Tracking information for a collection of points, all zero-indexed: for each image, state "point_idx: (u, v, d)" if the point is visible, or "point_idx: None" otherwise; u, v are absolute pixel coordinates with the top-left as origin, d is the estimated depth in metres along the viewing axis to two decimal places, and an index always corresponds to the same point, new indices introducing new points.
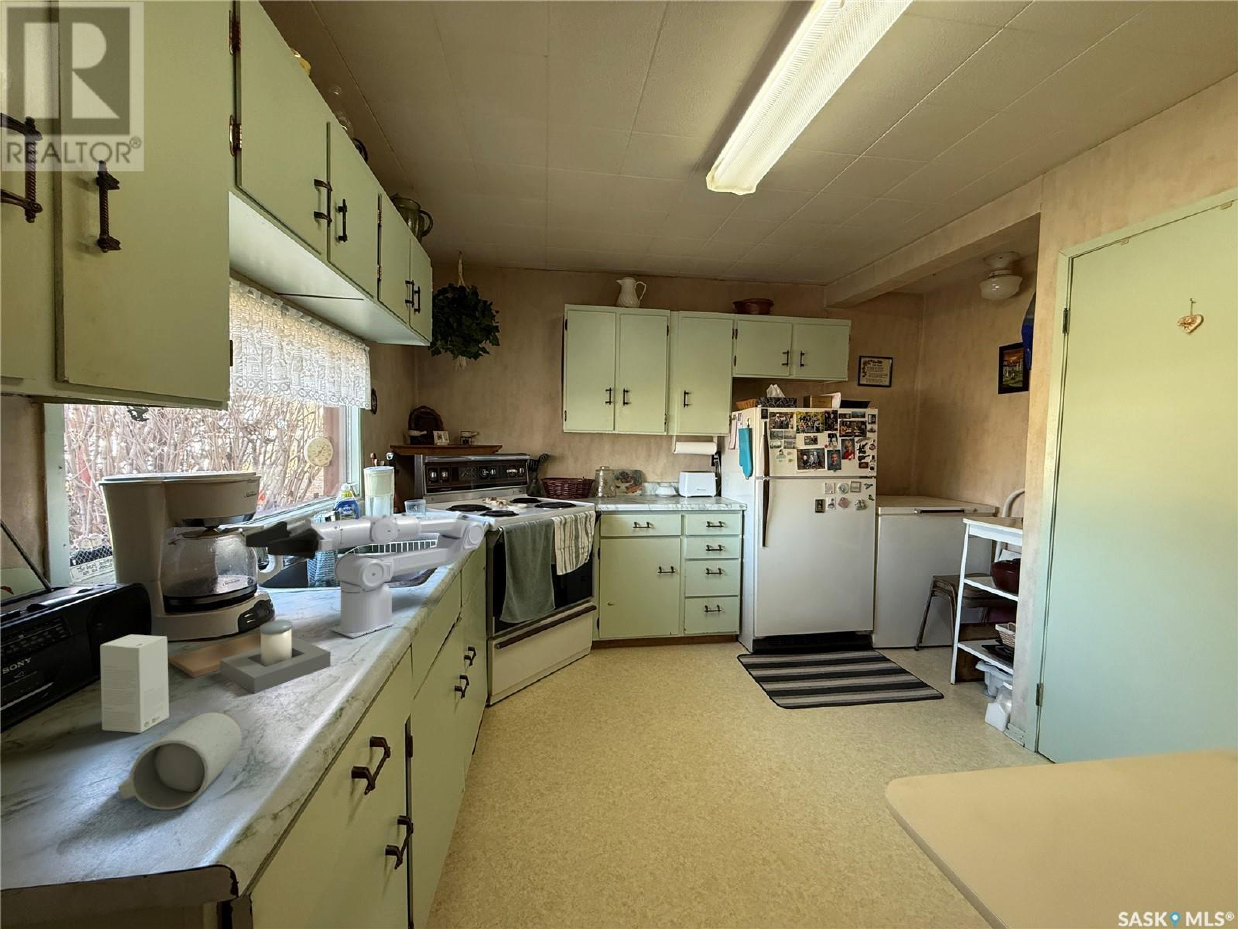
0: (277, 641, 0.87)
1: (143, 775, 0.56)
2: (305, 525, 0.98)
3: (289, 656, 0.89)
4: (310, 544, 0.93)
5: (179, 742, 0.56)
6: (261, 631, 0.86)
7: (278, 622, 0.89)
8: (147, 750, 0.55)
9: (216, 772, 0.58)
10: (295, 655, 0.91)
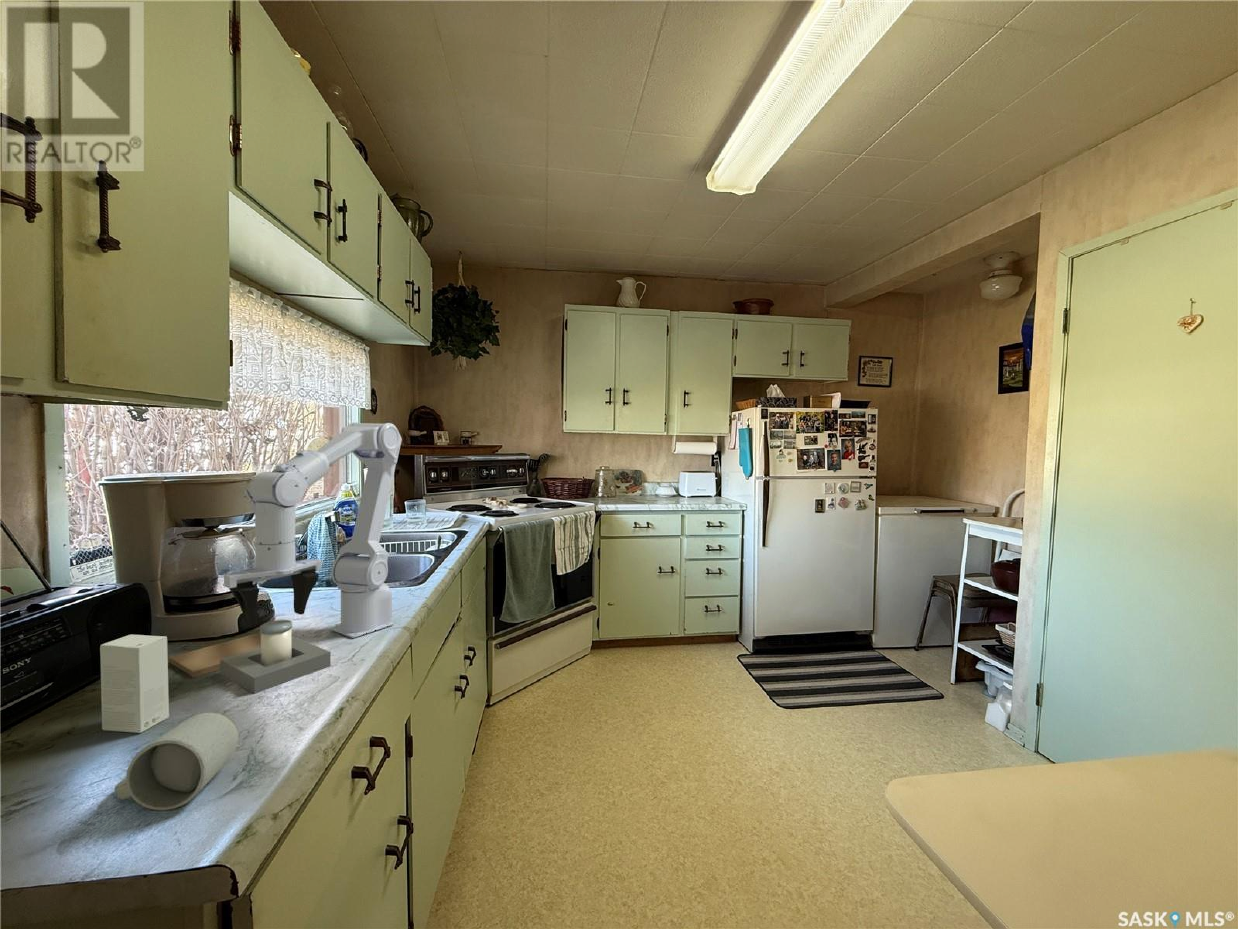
0: (277, 641, 0.87)
1: (139, 775, 0.56)
2: None
3: (289, 656, 0.89)
4: None
5: (175, 742, 0.55)
6: (261, 631, 0.86)
7: (278, 622, 0.89)
8: (143, 750, 0.55)
9: (212, 772, 0.58)
10: (295, 655, 0.91)
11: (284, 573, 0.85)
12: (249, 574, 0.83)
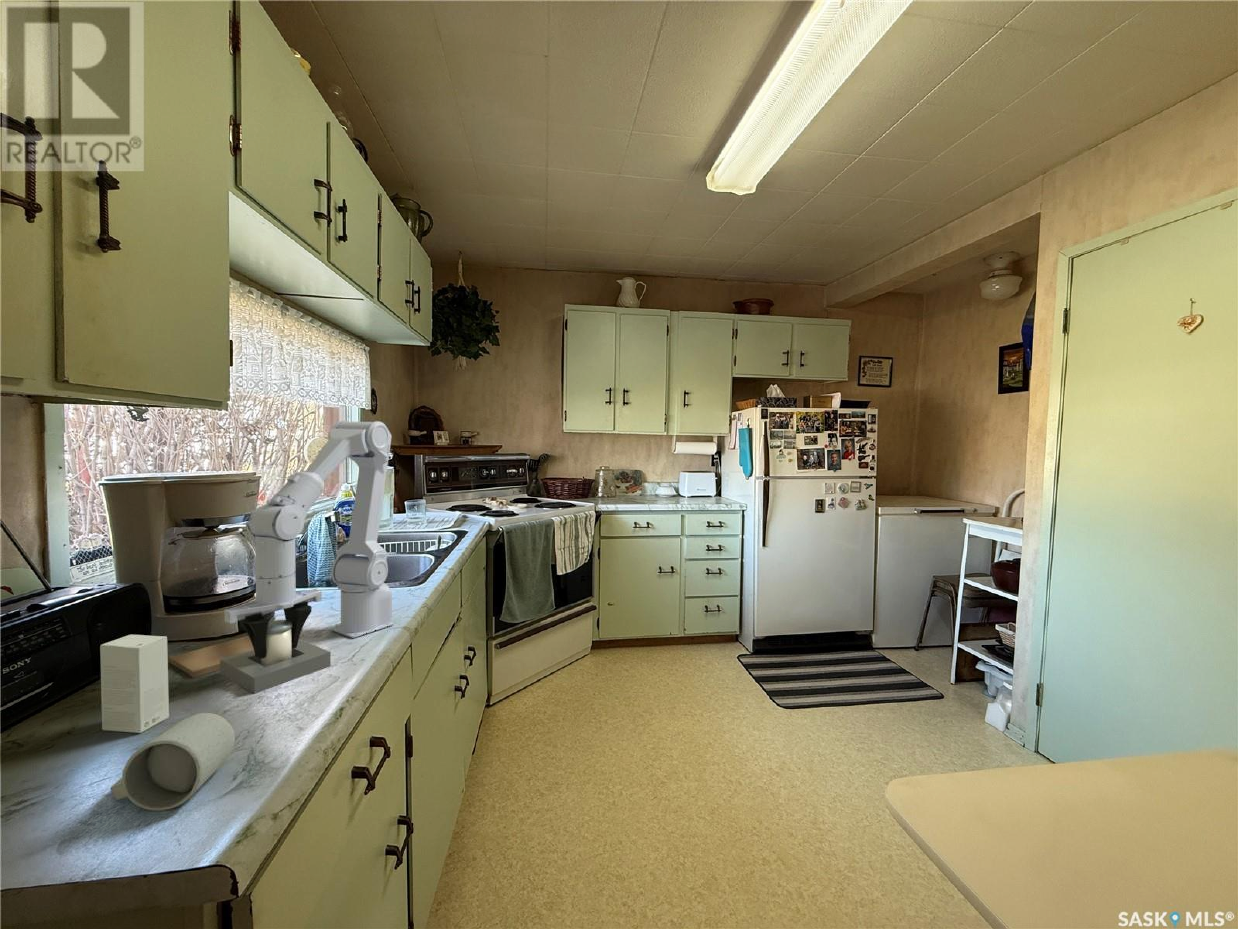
0: (277, 641, 0.87)
1: (135, 776, 0.56)
2: None
3: (289, 656, 0.89)
4: None
5: (171, 743, 0.55)
6: None
7: (278, 622, 0.89)
8: (139, 751, 0.55)
9: (208, 773, 0.58)
10: (295, 655, 0.91)
11: (284, 607, 0.86)
12: (249, 609, 0.83)
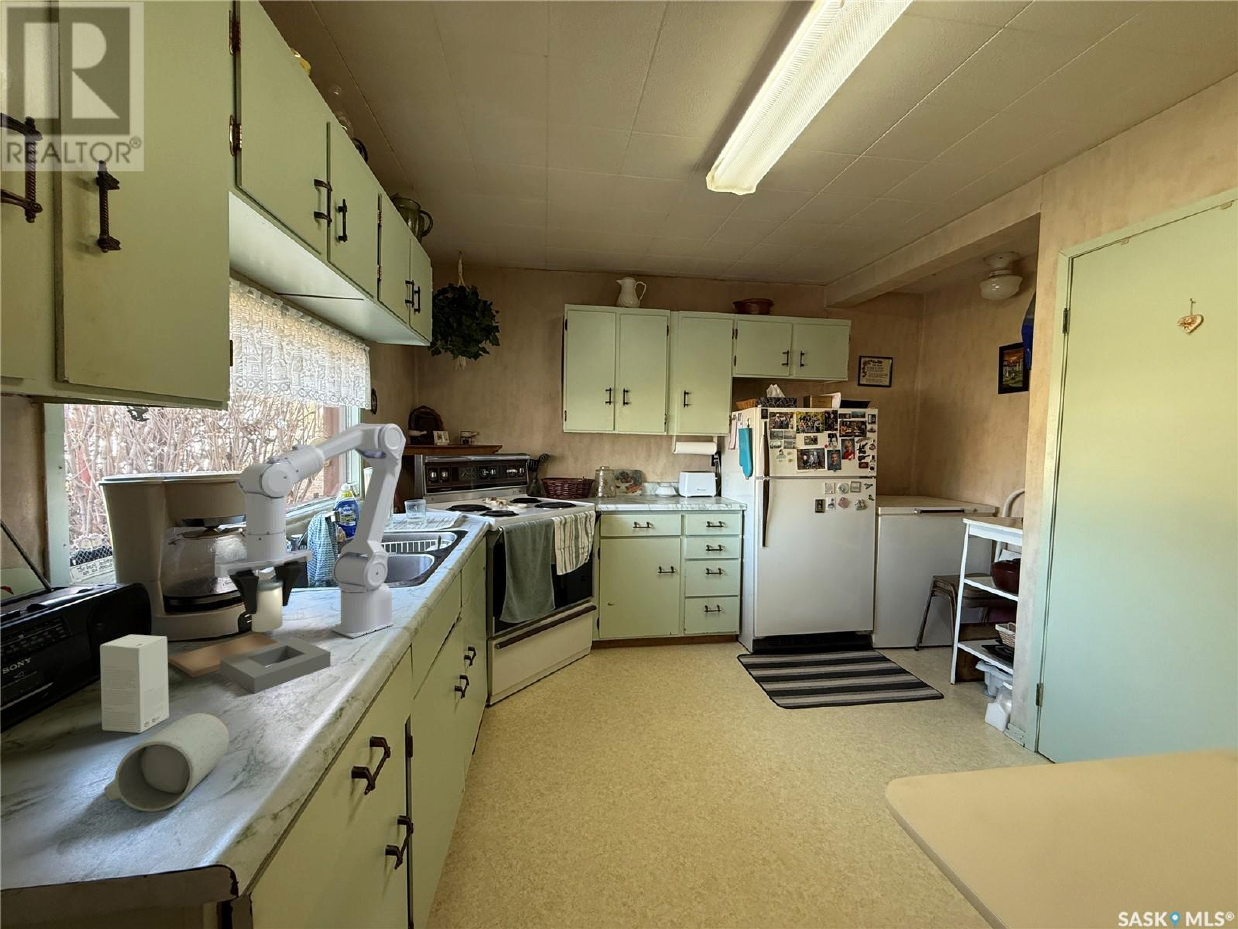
0: (268, 597, 0.87)
1: (129, 776, 0.56)
2: None
3: (280, 613, 0.89)
4: None
5: (164, 743, 0.55)
6: None
7: (269, 580, 0.90)
8: (132, 751, 0.55)
9: (202, 773, 0.58)
10: (295, 655, 0.91)
11: (275, 563, 0.86)
12: (240, 564, 0.84)
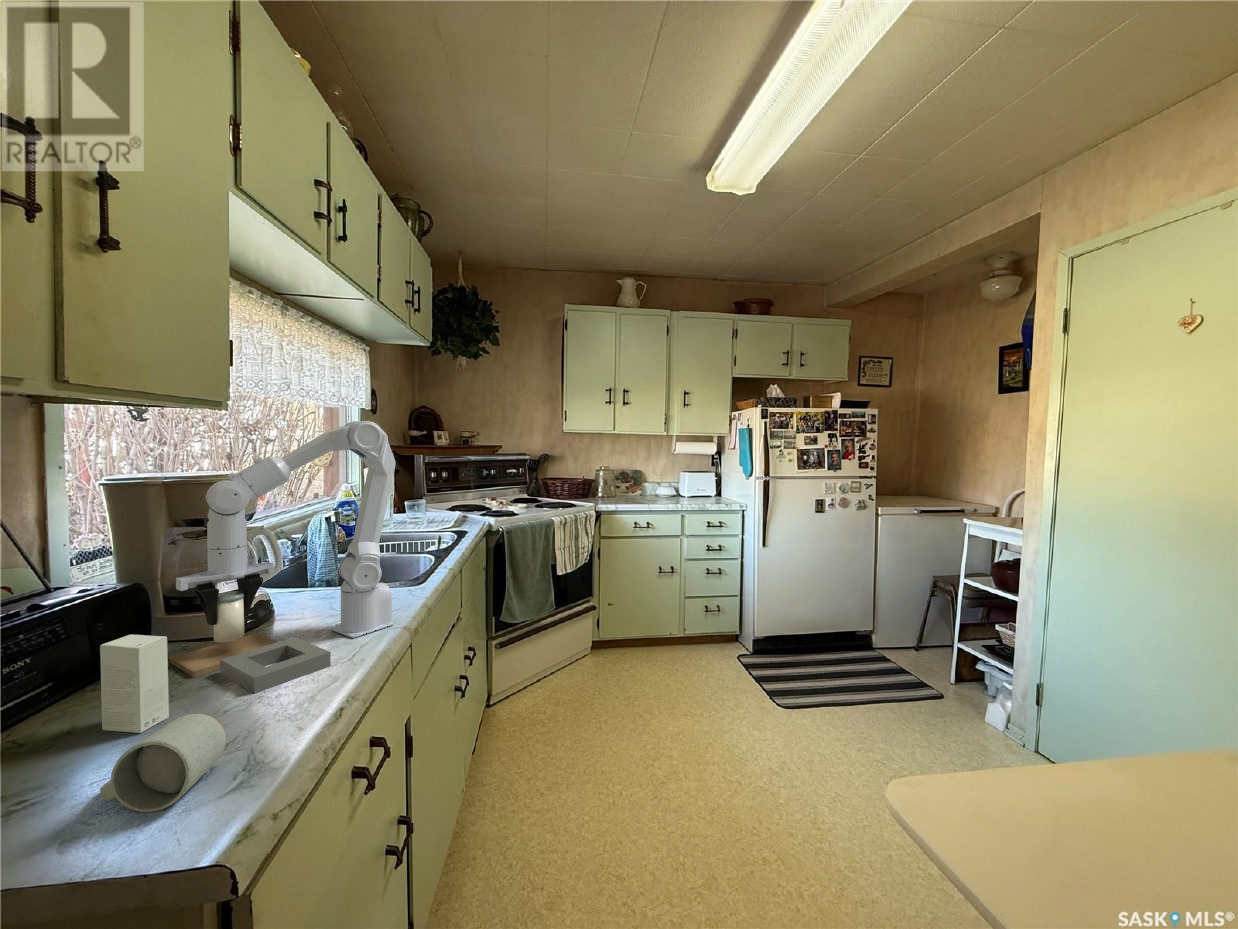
0: (229, 609, 0.91)
1: (125, 777, 0.56)
2: None
3: (241, 624, 0.93)
4: None
5: (160, 744, 0.55)
6: None
7: (230, 592, 0.94)
8: (128, 752, 0.55)
9: (198, 774, 0.57)
10: (295, 655, 0.91)
11: (234, 576, 0.90)
12: (200, 577, 0.88)
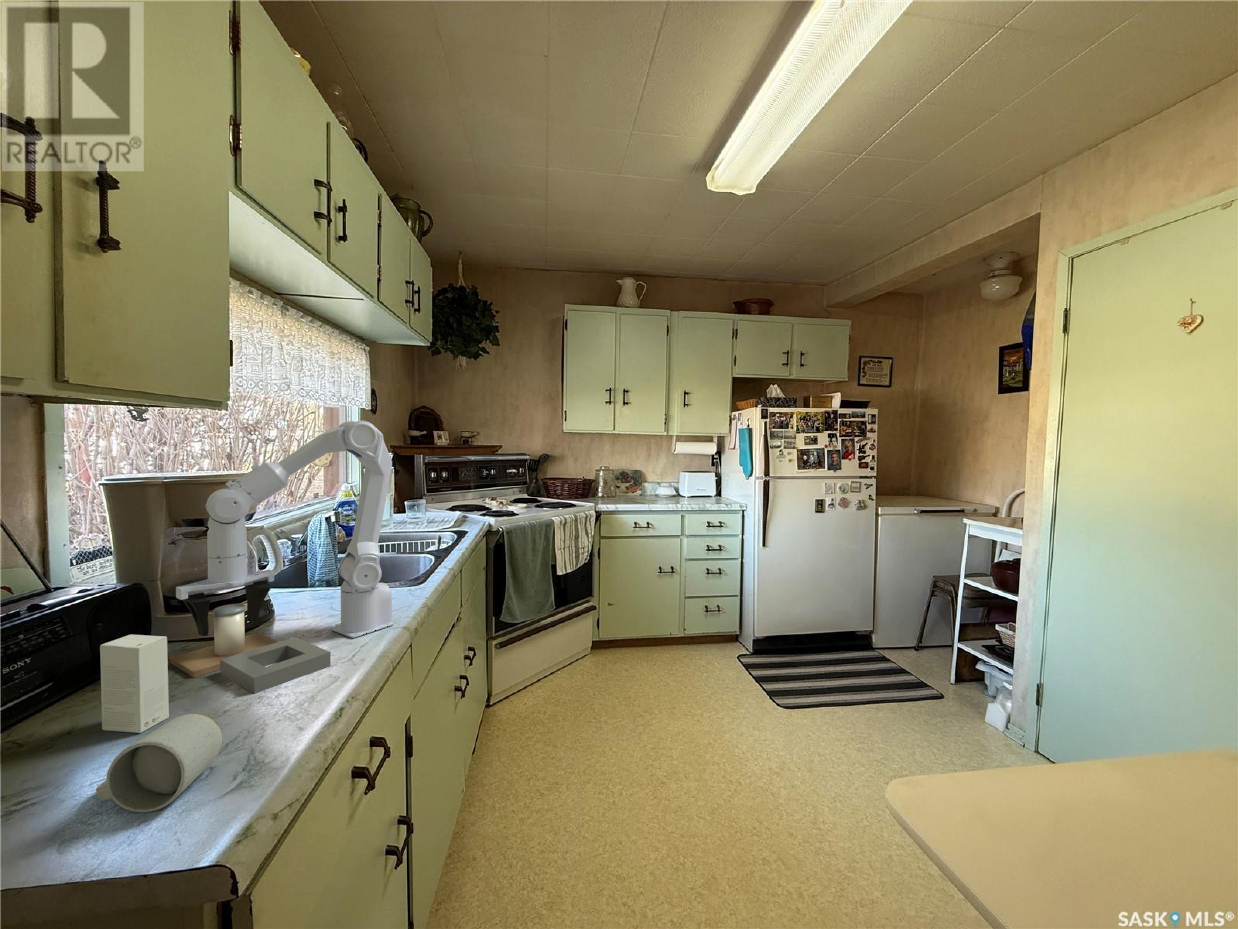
0: (229, 623, 0.91)
1: (120, 777, 0.56)
2: None
3: (241, 637, 0.93)
4: None
5: (155, 744, 0.55)
6: (214, 614, 0.91)
7: (231, 605, 0.94)
8: (123, 752, 0.55)
9: (194, 774, 0.57)
10: (295, 655, 0.91)
11: (234, 585, 0.90)
12: (200, 586, 0.88)
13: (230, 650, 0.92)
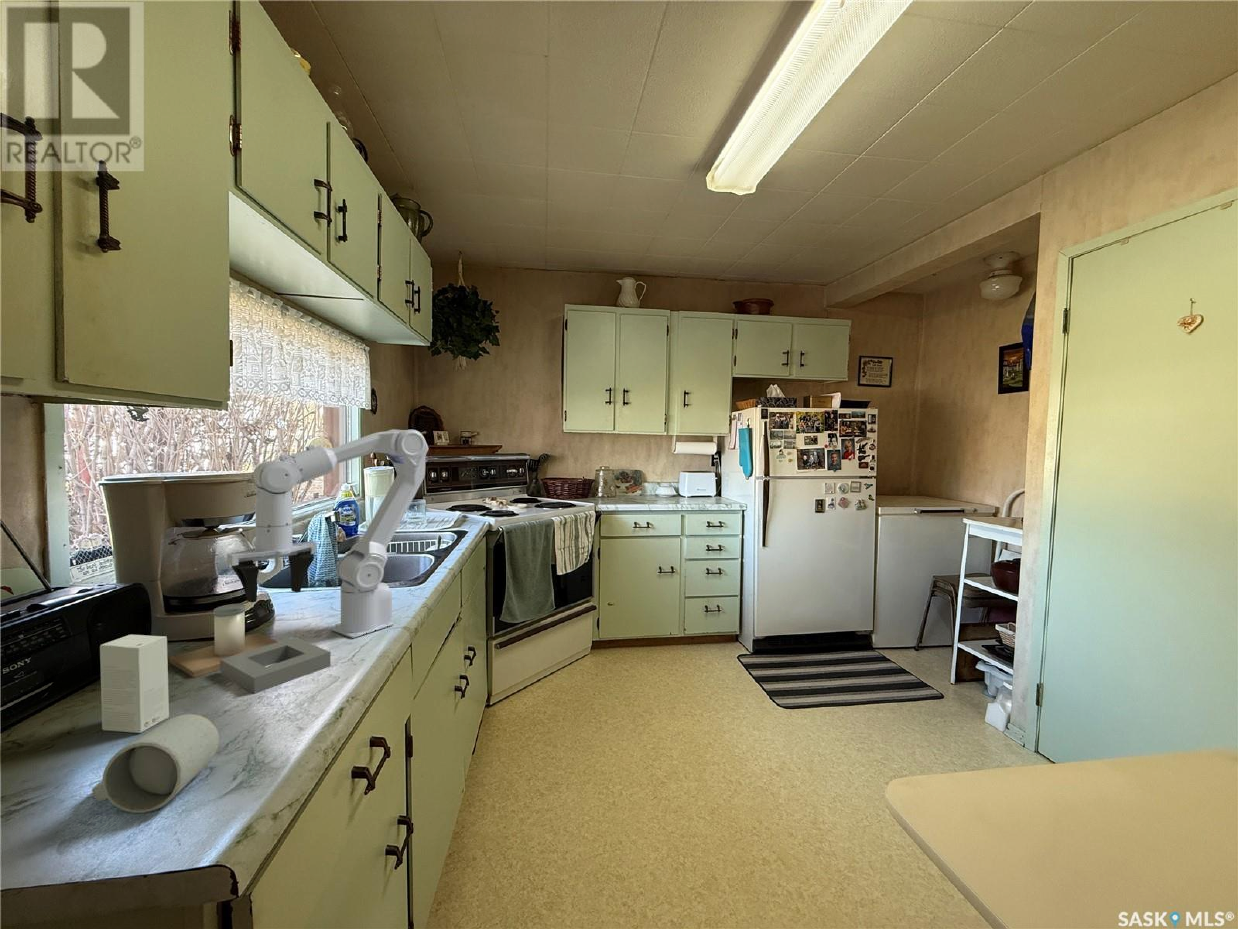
0: (230, 623, 0.91)
1: (117, 777, 0.56)
2: None
3: (242, 638, 0.93)
4: None
5: (152, 744, 0.55)
6: (214, 613, 0.91)
7: (232, 605, 0.94)
8: (119, 752, 0.55)
9: (190, 775, 0.57)
10: (295, 655, 0.91)
11: (282, 553, 0.93)
12: (250, 553, 0.91)
13: (230, 650, 0.92)
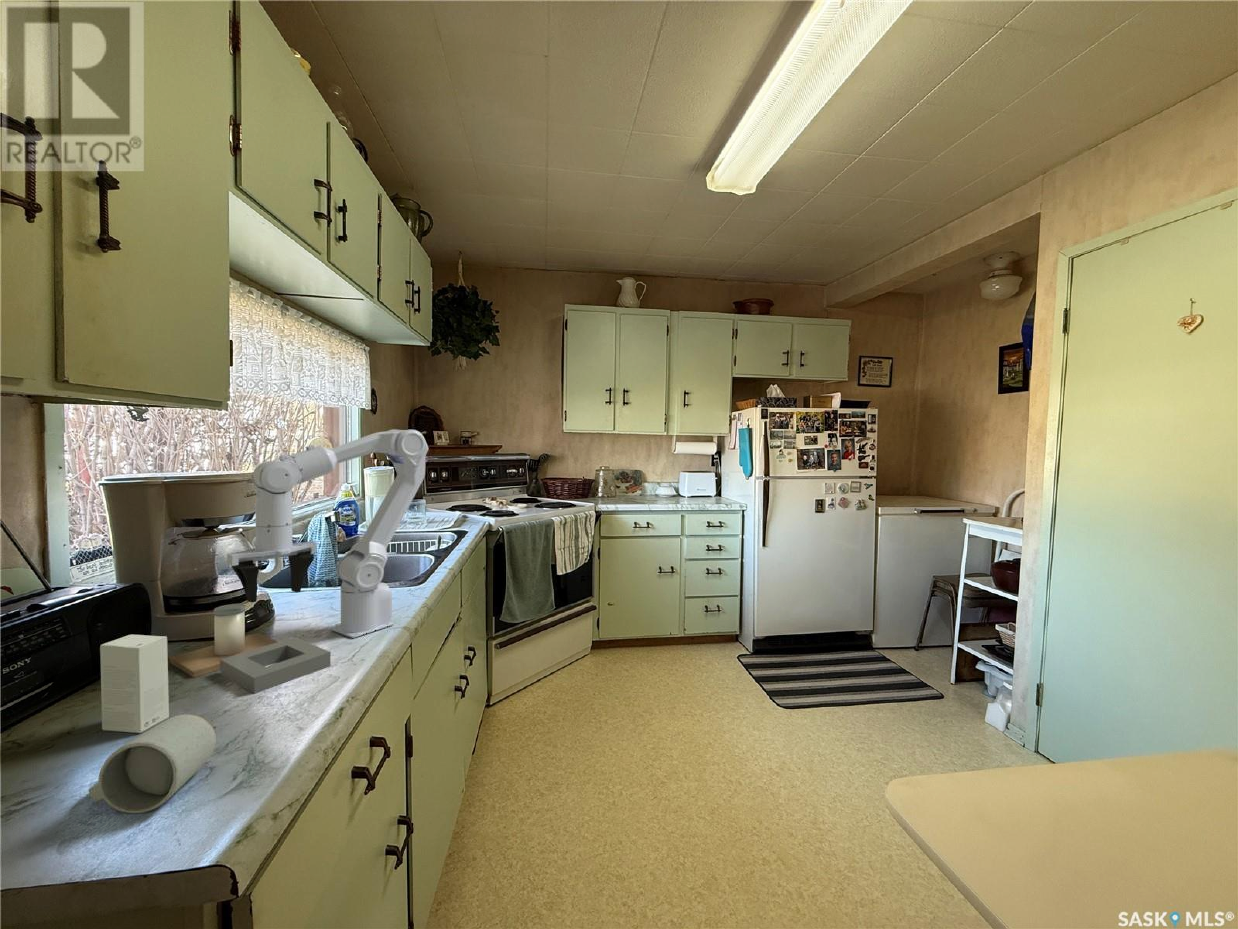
0: (230, 623, 0.92)
1: (113, 778, 0.56)
2: None
3: (241, 637, 0.93)
4: None
5: (148, 745, 0.55)
6: (214, 613, 0.91)
7: (232, 605, 0.94)
8: (115, 753, 0.54)
9: (186, 775, 0.57)
10: (295, 655, 0.91)
11: (282, 553, 0.93)
12: (250, 553, 0.91)
13: (230, 650, 0.92)
